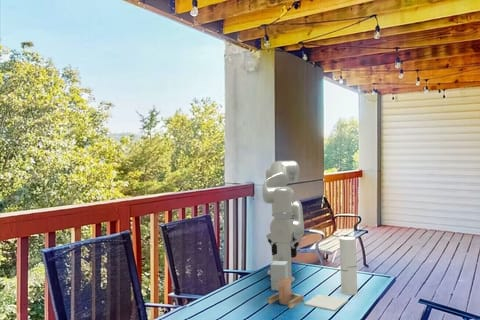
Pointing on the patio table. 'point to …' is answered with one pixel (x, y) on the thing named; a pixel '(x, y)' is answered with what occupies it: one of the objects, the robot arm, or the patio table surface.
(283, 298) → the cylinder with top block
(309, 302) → the mat
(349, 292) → the cylindrical container
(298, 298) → the cradle
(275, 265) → the supplement box
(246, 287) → the patio table surface
